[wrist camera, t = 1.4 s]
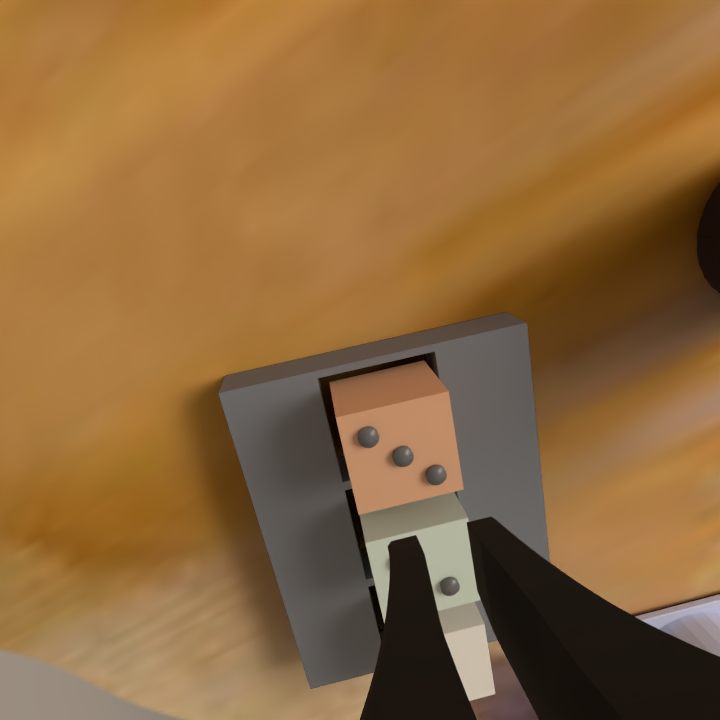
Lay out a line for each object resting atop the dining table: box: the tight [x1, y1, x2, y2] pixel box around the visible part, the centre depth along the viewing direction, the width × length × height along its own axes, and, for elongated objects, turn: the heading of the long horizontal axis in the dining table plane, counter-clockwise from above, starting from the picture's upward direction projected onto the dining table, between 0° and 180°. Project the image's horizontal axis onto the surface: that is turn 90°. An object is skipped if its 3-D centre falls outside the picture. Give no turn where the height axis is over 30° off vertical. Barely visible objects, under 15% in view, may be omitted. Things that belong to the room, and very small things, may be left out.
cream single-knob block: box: [438, 602, 495, 701], centre depth 22 cm, size 4×4×4 cm
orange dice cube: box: [329, 360, 464, 515], centre depth 19 cm, size 4×4×4 cm
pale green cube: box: [360, 492, 481, 623], centre depth 20 cm, size 4×4×4 cm
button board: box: [218, 312, 550, 689], centre depth 23 cm, size 15×12×2 cm
